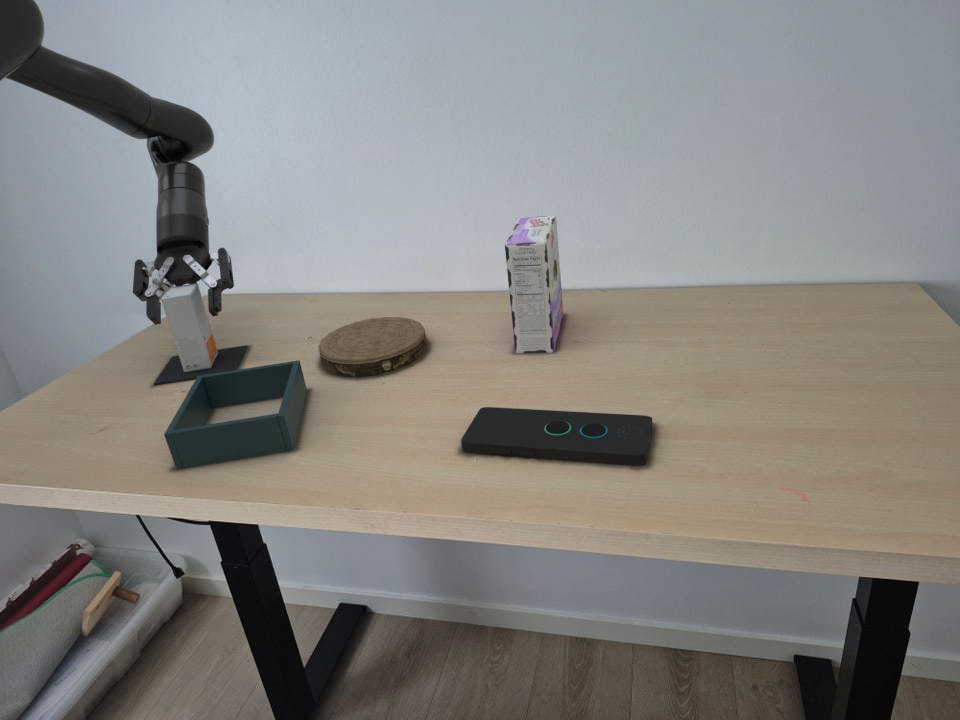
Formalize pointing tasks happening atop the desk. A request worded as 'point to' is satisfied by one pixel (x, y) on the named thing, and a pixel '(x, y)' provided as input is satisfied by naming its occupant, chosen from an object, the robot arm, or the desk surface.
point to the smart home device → (560, 435)
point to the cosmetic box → (190, 327)
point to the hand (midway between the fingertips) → (184, 318)
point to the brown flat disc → (373, 347)
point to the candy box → (534, 284)
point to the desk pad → (222, 363)
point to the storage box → (243, 436)
